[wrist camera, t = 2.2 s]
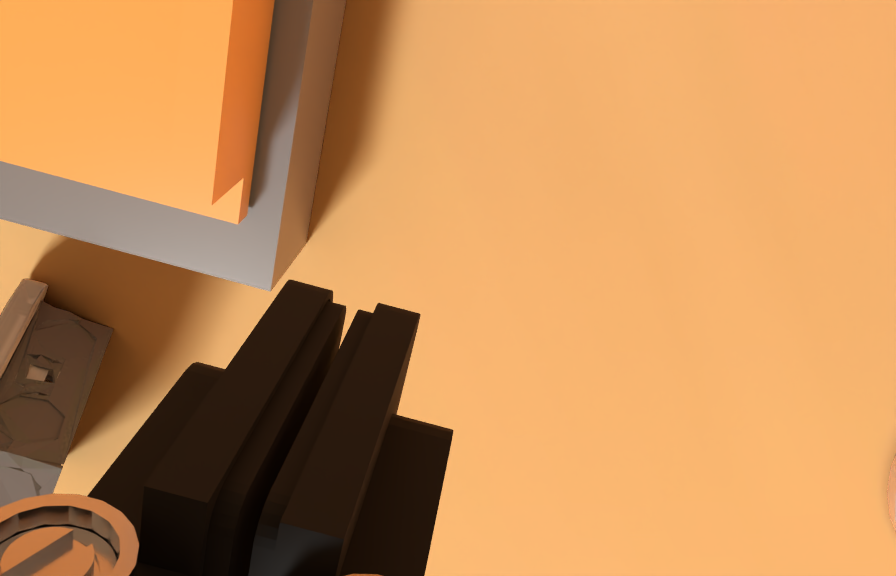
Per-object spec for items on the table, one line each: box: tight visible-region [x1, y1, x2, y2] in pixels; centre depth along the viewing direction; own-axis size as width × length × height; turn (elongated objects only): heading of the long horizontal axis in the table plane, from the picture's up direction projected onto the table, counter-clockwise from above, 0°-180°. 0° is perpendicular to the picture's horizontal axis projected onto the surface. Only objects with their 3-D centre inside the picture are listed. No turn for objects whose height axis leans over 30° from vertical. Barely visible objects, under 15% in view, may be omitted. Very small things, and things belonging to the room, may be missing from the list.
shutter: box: [0, 0, 275, 224], centre depth 22 cm, size 8×9×3 cm
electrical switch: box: [0, 279, 113, 507], centre depth 31 cm, size 9×5×9 cm, turn 152°
